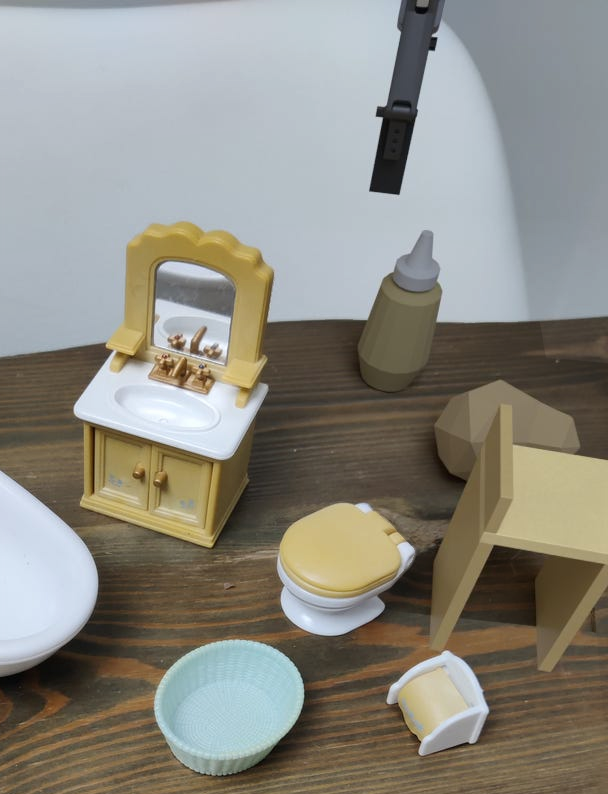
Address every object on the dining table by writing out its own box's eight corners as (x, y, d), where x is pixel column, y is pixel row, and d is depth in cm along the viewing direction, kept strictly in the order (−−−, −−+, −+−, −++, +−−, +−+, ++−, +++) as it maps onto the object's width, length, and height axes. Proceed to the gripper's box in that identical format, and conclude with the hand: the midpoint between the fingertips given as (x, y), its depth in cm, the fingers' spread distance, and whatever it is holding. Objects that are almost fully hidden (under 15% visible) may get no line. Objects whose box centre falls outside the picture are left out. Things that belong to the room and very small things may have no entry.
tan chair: (547, 582, 96) (637, 425, 80) (550, 672, 89) (650, 521, 73) (433, 561, 97) (500, 403, 81) (429, 649, 90) (500, 496, 74)
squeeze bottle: (350, 395, 111) (388, 251, 97) (351, 351, 116) (386, 207, 102) (422, 403, 111) (470, 260, 96) (419, 358, 116) (465, 215, 101)
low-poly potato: (397, 475, 104) (475, 502, 95) (416, 370, 100) (500, 387, 91) (500, 473, 111) (583, 498, 101) (522, 375, 107) (611, 390, 97)
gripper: (411, -166, 83) (365, 98, 100) (382, -79, 68) (334, 216, 85) (502, -161, 82) (440, 106, 99) (493, -71, 67) (422, 227, 83)
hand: (391, 157), depth 92 cm, fingers open, 13 cm apart
